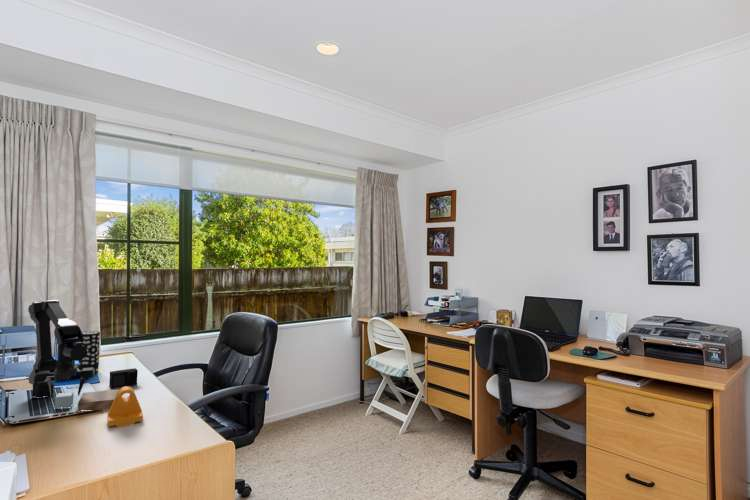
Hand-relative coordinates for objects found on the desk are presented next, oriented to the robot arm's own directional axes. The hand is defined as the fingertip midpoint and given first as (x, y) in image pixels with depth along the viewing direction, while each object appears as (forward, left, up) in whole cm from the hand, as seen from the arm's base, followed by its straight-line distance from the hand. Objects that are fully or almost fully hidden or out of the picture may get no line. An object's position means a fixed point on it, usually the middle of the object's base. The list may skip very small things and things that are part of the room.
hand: (64, 396), depth 166 cm
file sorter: (-7, +76, -4) cm, 76 cm away
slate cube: (0, 0, -4) cm, 4 cm away
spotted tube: (+2, +50, -4) cm, 50 cm away
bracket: (+22, -25, -4) cm, 34 cm away
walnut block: (+12, -2, -4) cm, 13 cm away
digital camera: (+19, +21, -4) cm, 29 cm away
